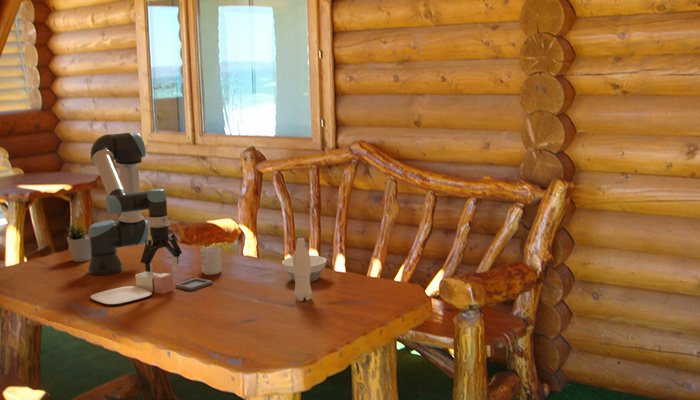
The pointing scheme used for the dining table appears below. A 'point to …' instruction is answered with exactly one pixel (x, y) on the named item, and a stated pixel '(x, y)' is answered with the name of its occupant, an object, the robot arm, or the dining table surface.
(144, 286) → the grey-panelled beige block
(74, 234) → the potted plant
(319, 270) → the bowl
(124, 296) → the plate
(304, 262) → the water bottle
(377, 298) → the dining table surface
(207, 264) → the mug
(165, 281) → the stub
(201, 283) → the stub tray
